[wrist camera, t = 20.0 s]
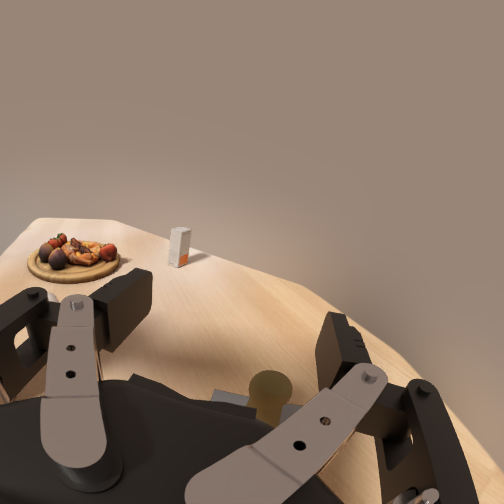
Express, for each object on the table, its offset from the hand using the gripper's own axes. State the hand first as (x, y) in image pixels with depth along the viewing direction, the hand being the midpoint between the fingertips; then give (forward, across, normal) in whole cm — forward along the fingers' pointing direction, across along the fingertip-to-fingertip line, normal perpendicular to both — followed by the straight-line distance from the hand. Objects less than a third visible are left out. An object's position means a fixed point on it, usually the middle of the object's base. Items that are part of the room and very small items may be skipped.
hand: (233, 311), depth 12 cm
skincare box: (+70, +28, +28) cm, 81 cm away
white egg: (+23, +42, +28) cm, 56 cm away
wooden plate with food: (+51, +58, +29) cm, 82 cm away
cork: (+14, -4, +27) cm, 31 cm away
